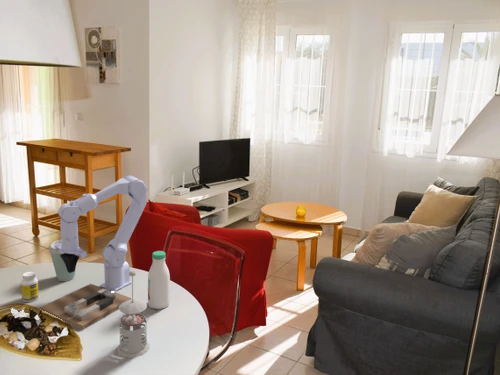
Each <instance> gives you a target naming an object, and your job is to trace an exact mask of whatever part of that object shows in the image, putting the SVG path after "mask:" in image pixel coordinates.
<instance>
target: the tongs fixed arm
mask: <svg viewBox="0 0 500 375" xmlns="http://www.w3.org/2000/svg"><path fill="white" fill-rule="evenodd" d="M112 304H113V298H111V297H107V298H105V299H103V300H101V301H99V302H97V303H95V304H94V305H93V306H91V307H89V308H87V309H85V310H83V311H82V310H79V309H78V310H76V311H75V312H74V318H77V319H79V320H84V319H86V318H88V317H90V316H91V315H93V314H95V313H97V312H99V311H101V310H103V309H104V308H106V307H108V306H110V305H112Z"/></svg>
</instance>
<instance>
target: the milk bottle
mask: <svg viewBox="0 0 500 375" xmlns="http://www.w3.org/2000/svg"><path fill="white" fill-rule="evenodd" d="M151 254H152V256H151V258H152V263H151V266H150V269H149V270H148V274H147V275H148V276H147V306H148V307H150V308H151V309H155V310H160V309H165V308H168V306H169V305H170V304H171V303H170V299H171V298H170V297H171V296H170V294H171V285H170V284H171V281H170V280H171V277H170V276H171V275H170V271H169V268H168V266H167V264H166V252H165V251H163V250H157V251H154V252H152V253H151Z"/></svg>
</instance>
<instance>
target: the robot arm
mask: <svg viewBox="0 0 500 375" xmlns="http://www.w3.org/2000/svg"><path fill="white" fill-rule="evenodd" d="M147 191H148V188H147V185H146V183H145V182H144V181H143V180H142V179H139V178H137V177H136V176H135V175H130V174H129V175H126V176H124V177H121V178H119V179H118V180H117V181H115V182H113V183H111V184H110V185H108V186H106V187H105V188H102V189H101V190H99V191H98V192H96V193H93V194H92V193H84V194H81V197H79V198H77V199H75V200H70V201H69V203H63V204H61V205H60V207H59V208H58V211H57V214H58V216H59V217H60V224H59V225H60V227H59V228H60V240H61V244H60V243H59V244H56V245H55V250H60V251H59V252H60V253H62V254H61V255H60V257H61V258H62V259H63V261H64V263H65V265H66V268H67V271H68V272H69V273H72V272H74V271H75V272H76V269H75V268H77V263H78V261H79V259H84V258H87V254H88V253H87V251H85V250H84V249H83V248H81V247H80V246H79V225H78V219H79V218H80V216H82V215H84V214H86V213H88V212H90V211H92V210H94V209H95V208H97V207H98V205H99V203H100V202H103V201H104V200H107V199H109V198H111V197H114V196H116V195H119V194H122V195H128V197H129V199H130V201H131V203H130V205H129V207H128V209H127V211H126V213H125V215H124V217H123V219H122V221H121V223H120V225H119V227H118V229H117V232H116V234H115V236H114V238H112V239H111V240H110V241H109V242H108V244H107V245H106V246H104V248H103V249H102V253H101V255H102V258H103V259H105V260H104V263H103V264H104V266H103V268H104V270H103V271H104V273H103V274H104V283H102V284H100V285H99V287H101V288H104V289H115V290H116V292H117V291H119V290H121V289H122V288H124V287H126V286H128V285H130V284H132V280H131V276H129V272H130V271H131V268H130V265H129V263H128V262H127V261H126V256H127V253H128V242H129V240H130V239H131V237H132V234H133V232H134V230H135V229H136V227H137V224H138V223H139V220H140V218H141V216H142V214H143V212H144V210H145V208H146V205H147V201H148V200H147V198H148V197H147Z"/></svg>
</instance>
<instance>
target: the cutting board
mask: <svg viewBox="0 0 500 375" xmlns="http://www.w3.org/2000/svg"><path fill="white" fill-rule="evenodd" d="M102 289H105V288H103V287H100V285H99V286H98V285H95V284H92V283H89V284H87V285H85V286H83V287H80V288H78V289H77V290H76V289H75V290H74V291H71V292H70V293H68V294H65V295H64V296H61V297H59V298H57V299H55V300H53V301H50V302H49V303H46V304H45V305H42V306H40V307H39V310H40V309H41V310H43V311H46V312H48V313H50V314H52V315H54V316H56V317H58V318H60V319H62V320H63V321H65V322H67V323H66V324H68V323H69V324H68V325H70V326H72V327H74V328H77V329H79V330H81V331H82V330H85V329H88V327H90V326H92V325H94V324H95V323H97V322H99V321H101V320H102V319H105V317H108V316H109V315H111V314H113V313H114V312H116V311H118V310H119V306H120V305H121V304H122V303H124V302H125V301H128V300H132V297H130V296H127V295H124V294H122V293H118V292H116V298H114V299H113V304H112V305H110V306H108V307H106V308H104V309H103V310H101V311H99V312H97V313H95V314H93V315H91V316H90V317H88V318H86V319H84V320H79V319H77V318H74V315H73V316H71V315H69V314H67V313H65V312H64V307H66V306H68V305H70V304H72V303H74V302H76V301H78V300H81V299H83V298H84V297H86V296H88V295H90V294H92V293H94V292H97V291H100V290H102ZM103 299H105V298H104V297H103V298H101V299H99V300H97V301H95V302H93V303H91V304H89V305H86V306H84V307H82V308H80V309H79V310H82V311H83V310H85V309H87V308H89V307H91V306H93V305H94V304H95V303H97V302H99V301H101V300H103ZM63 321H62V322H63ZM65 322H64V323H65Z"/></svg>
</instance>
